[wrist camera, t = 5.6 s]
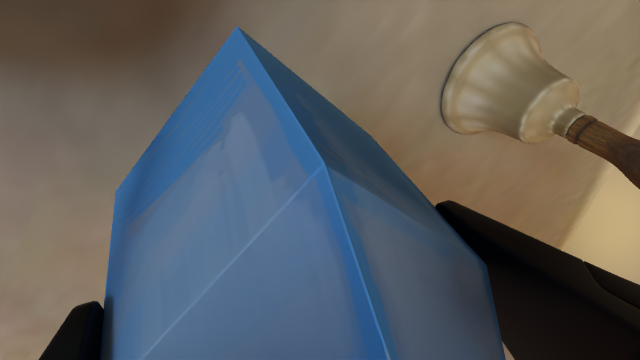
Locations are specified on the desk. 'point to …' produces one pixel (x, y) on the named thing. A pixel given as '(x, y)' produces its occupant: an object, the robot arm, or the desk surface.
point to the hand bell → (527, 99)
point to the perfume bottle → (283, 236)
